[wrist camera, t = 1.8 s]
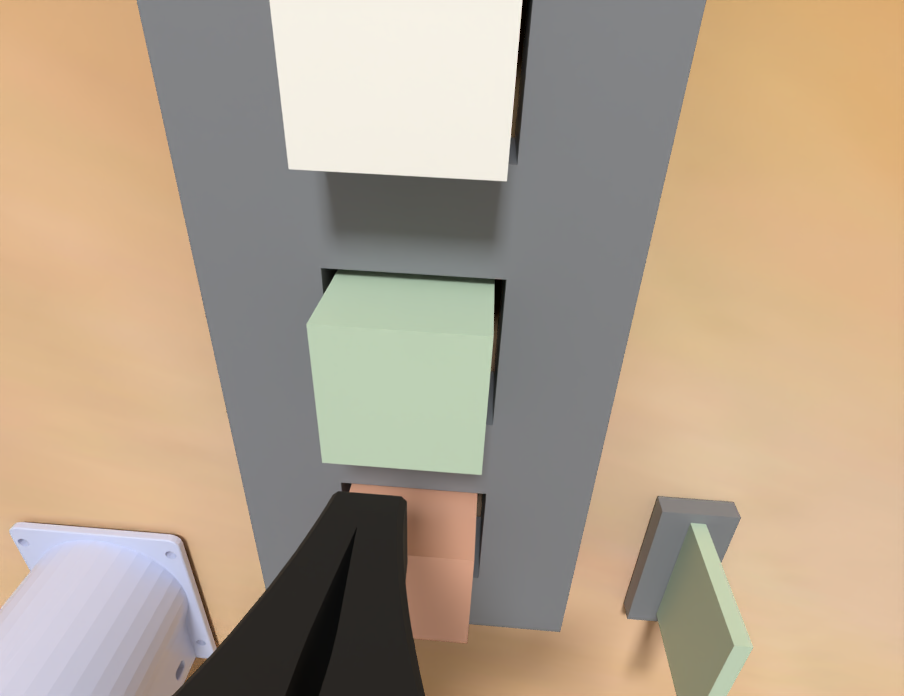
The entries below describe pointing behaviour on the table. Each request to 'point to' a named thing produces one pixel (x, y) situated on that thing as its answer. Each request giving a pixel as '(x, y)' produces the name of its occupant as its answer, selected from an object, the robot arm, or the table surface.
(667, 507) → the card
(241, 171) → the button board
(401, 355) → the sage block
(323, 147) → the cream block
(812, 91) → the table surface
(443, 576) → the terracotta block
